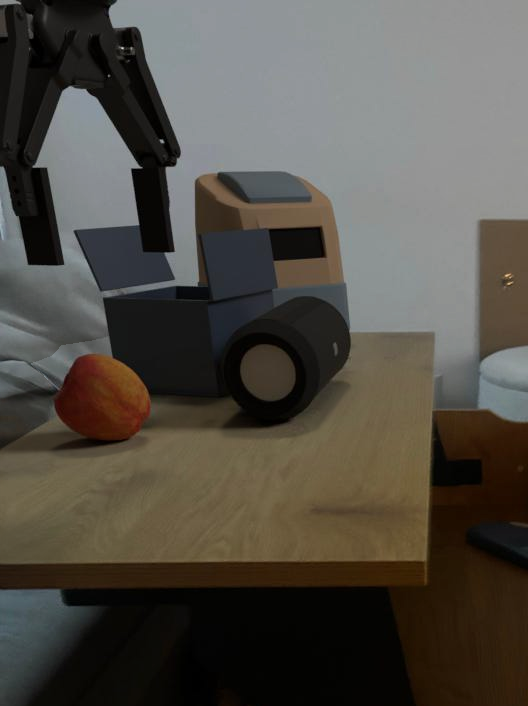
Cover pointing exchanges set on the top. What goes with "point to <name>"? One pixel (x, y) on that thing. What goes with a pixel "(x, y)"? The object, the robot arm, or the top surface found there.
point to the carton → (194, 316)
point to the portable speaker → (285, 357)
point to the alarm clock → (278, 229)
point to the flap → (121, 258)
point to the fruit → (102, 399)
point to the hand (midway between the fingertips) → (106, 258)
